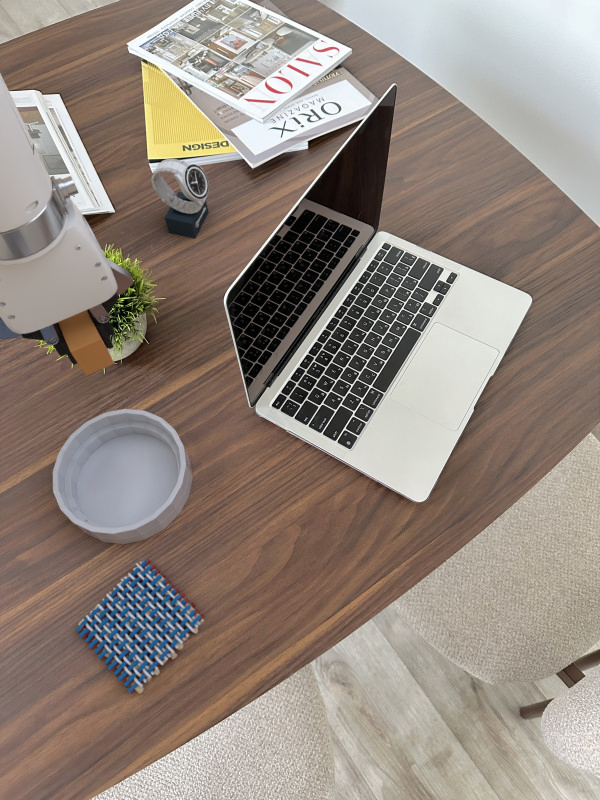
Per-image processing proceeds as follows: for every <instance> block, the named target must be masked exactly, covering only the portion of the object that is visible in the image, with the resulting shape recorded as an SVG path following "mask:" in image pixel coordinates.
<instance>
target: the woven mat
mask: <svg viewBox="0 0 600 800" xmlns="http://www.w3.org/2000/svg"><path fill="white" fill-rule="evenodd" d="M151 562H152V561H151V560H150V559H149V558H148V559H147V560H142V561H141V560H140V561H139V562H136V563H135V565H136V566H135V567H133V568H132V573H130V572H128V574H127V576H126V575H125V576H123V577H121V578H120V581H119V583H118V582H117V584H116V586H117V587H113V589H112V590H113V591H108V593H106V594H105V596H106V598H104V597H103V598H102V599H101V601H102V602H101V603H97V604H96V605H95V607H94V608H93V610H91V611H90V612H89V613H88V614H86V615H85V618H82V619H81V620H80V621H79V622H78V624H77V626H78V627H76V629H75V631H76V632H77V633H78V636H79V638H82V639H83V640H85V642H86V643H87V644H88V647H89V648H90V649H92V650H94V649H95V648H96V647H97V648H96V649H95V650H94V653H95V654H96V655H98V656H97V657H98V659H99V660H102V661H104V662H103V663H104V664H105V665H106V666H108V667H107V669H108V670H109V671H111V672H113V671H114V670H115V669H116V670H115V671H114V672H113V674H114V675H115V676H116V677H117V680H118V682H121V683H122V682H124V681H125V680H126V681H125V682H124V684H123V686H124V687H125V688H126V689H127V692H128V693H129V694H131V695H133V694H134V693H135V692H137V694H139V695H140V694H142V693H143V692H144V690H145V688H144V684H146V683H147V684H148V683H149V682H150V681H151V680H152V679H153V677H152V676H154V675H156V676H158V675H159V674H160V673H161V672H160V668H159V665H161V666H164V665H165V664H166V663H167V661H168V660H169V658H170V659H171V660H175V659H176V658H178V654H177V653H176V651H175V649H176V650H177V651H181V650H183V649H184V644H183V643H184V642H185V641H187V640H188V639H189V638H190V632H192V633H193V634H195V635H197V634H198V632H199V626H201V625H202V624H203V623H204V622H205V619H204V617H205V615H204V613H200V614H199V612H200V610H199V608H195V607H196V604H197V603H195V602H192V603H191V604H190V603H189V602H190V600H189V598H186V599H185V598H184V597H185V596H186V594H185V593H184V592H182V593H179V592H180V589H179V588H176V589H175V588H174V587H176V586H175V584H174V583H171V584H170V582H171V580H170V579H169V578H166V577H167V575H166V574H165V573H163V574H162V575H161V574H160V572H161V570H160V569H159V568H157V569H156V567H157V565H156V564H155V563H154V564H152V565H151ZM185 627H186V628H185ZM184 628H185V629H184ZM128 634H129V635H128ZM170 643H171V644H170ZM169 644H170V645H169ZM144 649H145V650H144ZM143 650H144V651H143ZM138 677H139V678H138Z"/></svg>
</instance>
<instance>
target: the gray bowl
mask: <svg viewBox="0 0 600 800" xmlns="http://www.w3.org/2000/svg"><path fill="white" fill-rule="evenodd" d="M53 466H54V467H53V469H52V492H53V494H54V497H55V500H56V502H57V505H58V507H59V509H60V510H61V512H62V513H63V514H64V515H65V516H66V517H67V518H68V519H69V521H71V522H72V523H73V524H74V525H75V526H76V527H77V528H79V530H81V531H82V532H83V533H84V534H86V535H88V536H89V537H92V538H94V539H96V540H99V541H100V542H102V543H106V544H107V543H108V544H117V545H127V544H132V543H137V542H143V541H146V540H147V539H150V538H151V537H153V536H155V535H158V534H159V533H160V532H163V531H164V530H165V529H166V528H167V527H168V526H169V525H170V524H171V523H173V521H174V520H175V519H176V518H178V516H180V514H181V512H182V510H183V508H184V507H185V505H186V503H187V501H188V499H189V497H190V494H191V489H192V485H193V469H192V462H191V458H190V456H189V454H188V452H187V450H186V447H185V445H184V444H183V442H182V440H181V438H180V436H179V434H178V432H177V431H176V429H175V428H174V427H173V426H172V425H171V424H169V422H167V421H166V420H165V419H164V418H162V417H160V416H158V415H156V414H154V413H151V412H149V411H146V410H142V409H132V408H122V409H117V410H112V411H107V412H104V413H102V414H98V415H97V416H95V417H93V418H91V419H89V420H87V421H85V422H84V423H83V424H82V425H81V426H79V427H78V428H77V429H75V430H74V431H73V432H72V433H71V434H70V435H69V436H68V438H67V439H66V441H65V443H64V444H63V445H62V447H61V449H60V450H59V452H58V453H57V457H56V460H55V463H54V465H53Z"/></svg>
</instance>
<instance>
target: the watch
mask: <svg viewBox="0 0 600 800" xmlns="http://www.w3.org/2000/svg"><path fill="white" fill-rule="evenodd" d="M160 173H171V174H174V175H173V177H174V179H175V181H176V182H177V183H178V184H179V188H180V190H181V191H178V192H177V194H176V192H175V191H173V189H172V188H171V186H169V184H168V183H167V182H166V180H165V179H164V177H163V176H161V174H160ZM150 179H151V180H150V181H151V184H152V189H153V190H154V192H155V194H156V195H157V196H158V197H159V199H160V200H161V202H163V203H164V204H165V205H166V206H167V207H169V209H168V211H167V213H166V215H165V216H164V220H165V224H166V228H167V231H168V233H169V234H173V235H178V236H182V237H187V238H191V239H196V238H197V236H198V234H199V232H200V230H201V228H202V226H203V225H204V223H205V220H206V218H207V216H208V214H209V208H208V204H207V197H208V196H209V192H210V183H209V179H208V176H207V173H206V171H204V168H203V167H202V166H200V165H198V164H196V163H191V162H189V161H186V160H185V159H183V160H181V159H177V158H166V159H164V160H161V161H160V162H159V163H158V165H157V166H156V168H155V170H154V172H153V173H152V175H151V178H150Z"/></svg>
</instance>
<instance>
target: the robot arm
mask: <svg viewBox="0 0 600 800" xmlns="http://www.w3.org/2000/svg"><path fill="white" fill-rule="evenodd" d="M73 179H74V178H72V176H71V175H69V176H66V177H64V178H62V177H58V178H56V177H55V176H54V175H52V176H50V174H49V172H48V170H47V168H46V166H45V163H44V161H43V158H41V155H40V153H39V151H38V149H37V147H36V145H35V143H34V140H33V138H32V136H31V134H30V131H29V130H28V128H27V126H26V124H25V121H24V120H23V118H22V116H21V113H20V111H19V109H18V107H17V105H16V102H15V101H14V99H13V97H12V94H11V92H10V90H9V88H8V86H7V84H6V81H5V80H4V78H3V76H2V73H0V340H9V339H10V340H11V339H19V338H20V337H22V338H23V339H26V340H33V341H34V340H35V341H44V342H45V344H46V345H47V346H52V347H53V348H54V350H55V351H56V352H57V354H58V355H59V356H60V358H61V357H64V356H67V358H68V359H69V361H70V362H71V363H72V365H74V366H75V365H76V364H77V365H78V363H77V361H76V360H75V358H74V357H73V355H72V354H71V352H70V350H69V347H68V345H67V343H66V341H65V338H64V336H63V334H62V331H61V329H60V327H59V325H58V322H59V321H62V320H64V319H66V318H69V317H71V316H73V315H76V314H78V313H81V312H83V311H85V310H88V312H89V314H90V317H91V319H92V321H93V323H94V325H95V327H96V329H97V331H98V333H99V335H100V337H101V338H102V340H103V342H104V344H105V346H106V347H107V349H108V350H111V349H113V348H115V347H114V344H113V342H112V340H111V338H110V336H112V335H114V334H116V332H115V330H114V328H113V325H112V324H111V322H110V319H111V316H110V312H111V311H112V310H113V308H114V306H115V305H116V303H117V302H118V301H119V297H120V295H123V294H124V293H125V292H127V290H128V289H129V288H131V287H132V286H133V284H134V283H135V281H134V279H133V277H132V274H131V273H130V271H129V270H128V269H126V268H125V267H123V266H121V265H119V264H118V263H116V262H114V261H112V260H110V259H109V258H107V257H106V254H105V252H104V251H103V248H102V247H101V245H100V243H99V241H98V239H97V238H96V235H95V234H94V232H93V230H92V228H91V226H90V224H89V223H88V221H87V219H86V217H85V216H84V215H83V212H81V210H80V209H79V207H78V206H77V205H76V204H75V202H74V201H73V200H72V199H71V197H72V196H75V195H77V194H79V190H78V187H77V186H76V184H75V182H74V180H73Z"/></svg>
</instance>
